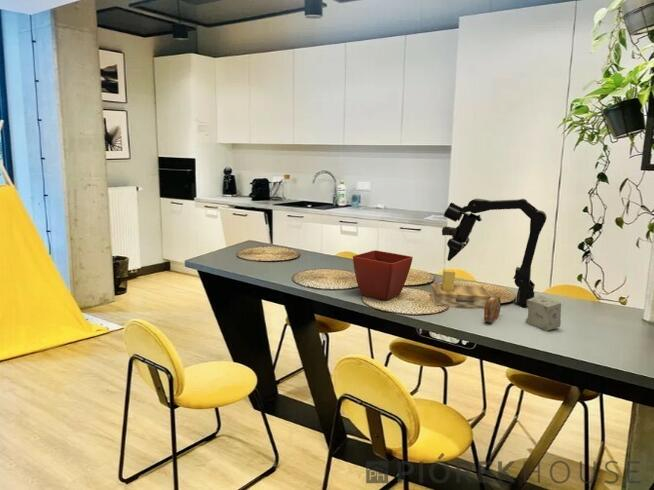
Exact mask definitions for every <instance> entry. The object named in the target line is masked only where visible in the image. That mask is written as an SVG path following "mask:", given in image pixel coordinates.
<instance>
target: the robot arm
mask: <svg viewBox="0 0 654 490" xmlns="http://www.w3.org/2000/svg"><path fill="white" fill-rule="evenodd" d="M495 210H496V211H498V210H500V211H501V210H520V211H522V212H523V213H524V214H525V215H526V217H528V218H529V219H530V220H529V222H530V223H529V234H528V239H527V242H526V247H525V250H524V255H523V259H522V261H521V265H520V267H519V266H516V268H515V273H514V276H513V278H512V279H514V284H515V286H516V287H517V288H518V289H517V293H516V299H515V300H516V301H513V304H515V305H517V306H520V307H522V308H528V306H527V304H526V302H527V300H528V299H531V298H534V297H535V292H534V290H535V288H536V284H535V283H534V282H533V281H532V280H531V276H532V275H531V274H532V263H533V261H534V255H535V251H536V248H537V245H538V240H539V236H540V234H541V232H542V229H543V227H544V226H545V223H546V222H547V214H546V212H545V211H543V210H539V209H537V208H536V207H535V206H534V205H532V204H531V203H530V202H529V201H528V200H527V199H526V198H520V199H499V200H489V199H482V198H473V199H471V200H470V201H469V202H468V203H467V205H464V206H463V207H462V206H460V205H458V204H455V202H450V203H449V205H448V207H447V208H446V210H445V211H444V213H443V217H444V218H446V219H449V220H450V221H453V222H455V223H456V222H458V221H460V222H459V224H458V225H457V226H455V227H451V226H443V227H442V229H441V236H451V238H449V239H448V240H447V242H446V244H447V246H448V249H449V250H448V254H447V259H446V260H447V261H449V262H450V261H451V260H452V259H454V257H456V256H457V255H458V254H459V253H460V252H461V251H462V250H464V248H465V247H466V246H467V245H468V244H469V242H470V235H471V233H473V228H474V226H475V224H476V221H478V222H481V221H482V220H483V219H482V218H481V214H479V213H483V212H487V211H495ZM476 214H478V215H476Z"/></svg>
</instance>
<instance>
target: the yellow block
mask: <svg viewBox="0 0 654 490" xmlns="http://www.w3.org/2000/svg"><path fill="white" fill-rule="evenodd" d="M455 275H456V271H455V270H454V269H445V268H444V269H443V271H442V281H441V284H442V291H453V289H454V285H455V277H456V276H455Z"/></svg>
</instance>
